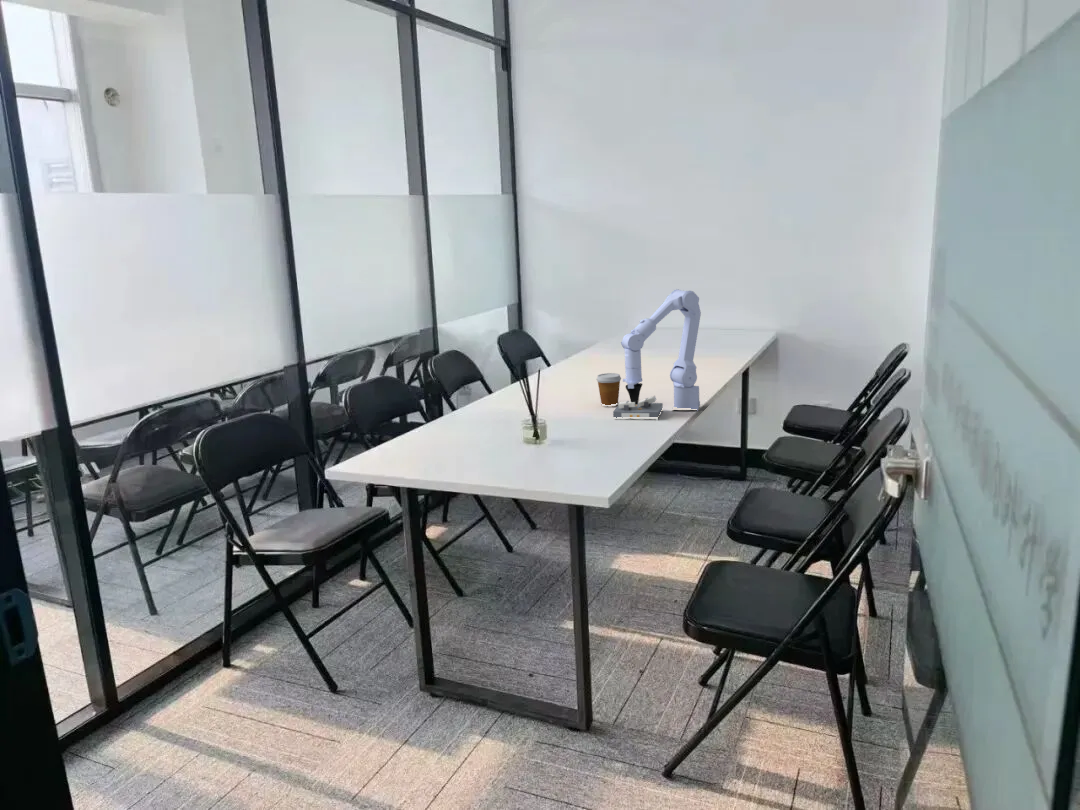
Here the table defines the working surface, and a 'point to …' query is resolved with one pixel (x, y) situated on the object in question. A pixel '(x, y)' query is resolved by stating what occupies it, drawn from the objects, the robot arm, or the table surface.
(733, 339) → the table surface
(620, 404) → the rocker
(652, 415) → the console
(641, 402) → the rocker
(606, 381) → the disposable coffee cup
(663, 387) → the table surface
